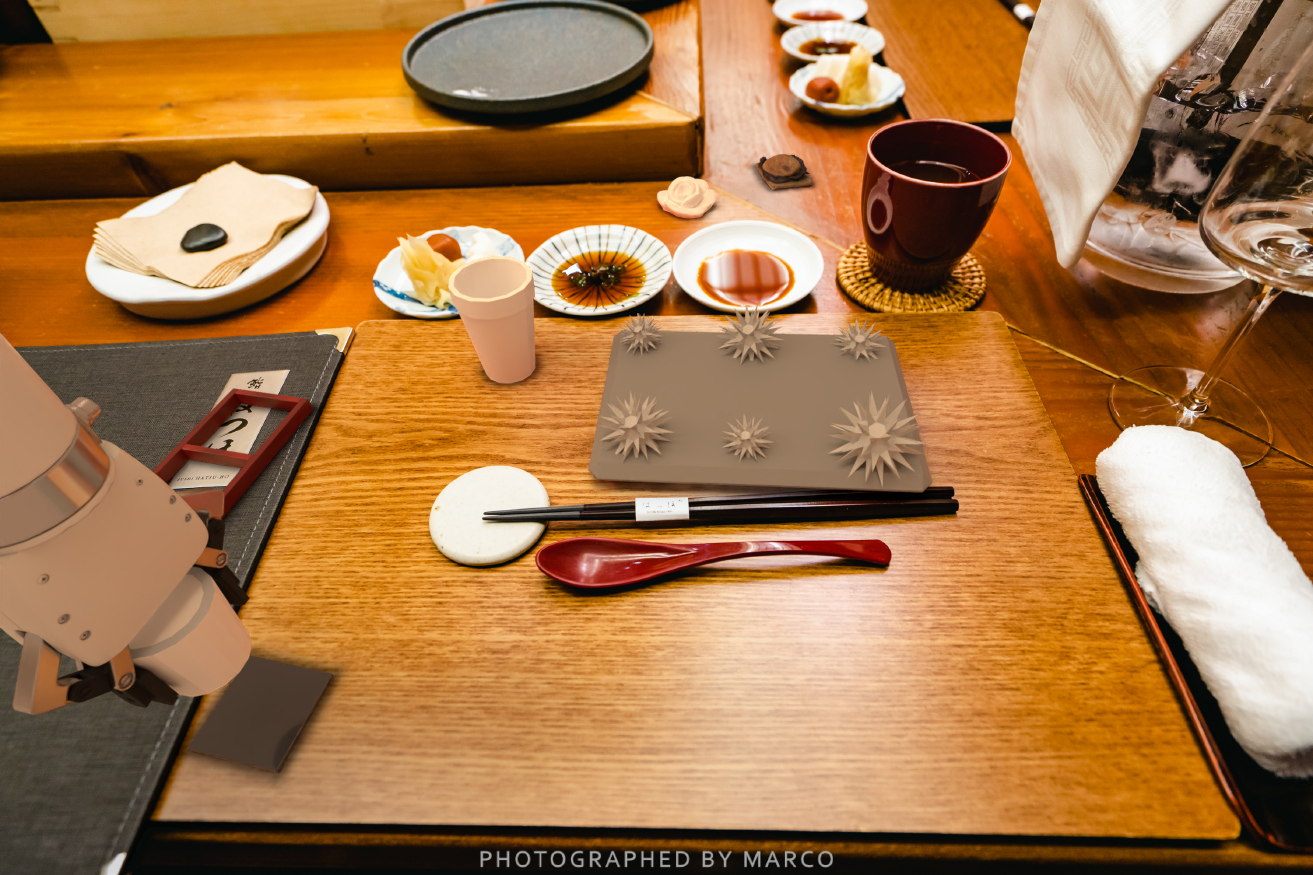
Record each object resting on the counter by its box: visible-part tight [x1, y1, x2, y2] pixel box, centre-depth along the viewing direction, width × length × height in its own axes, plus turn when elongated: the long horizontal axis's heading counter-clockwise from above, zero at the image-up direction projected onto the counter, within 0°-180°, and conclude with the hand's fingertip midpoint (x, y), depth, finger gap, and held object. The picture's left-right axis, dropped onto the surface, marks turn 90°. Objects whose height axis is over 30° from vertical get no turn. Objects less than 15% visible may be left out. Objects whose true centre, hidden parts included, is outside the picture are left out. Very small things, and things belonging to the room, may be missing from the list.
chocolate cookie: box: [755, 153, 813, 190], centre depth 120 cm, size 11×8×4 cm
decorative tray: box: [587, 304, 933, 493], centre depth 75 cm, size 35×26×10 cm
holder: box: [151, 387, 314, 520], centre depth 75 cm, size 10×19×2 cm, turn 168°
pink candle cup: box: [129, 567, 253, 698], centre depth 46 cm, size 7×7×7 cm
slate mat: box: [186, 655, 335, 774], centre depth 55 cm, size 8×8×1 cm
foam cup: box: [447, 255, 536, 384], centre depth 81 cm, size 10×9×13 cm
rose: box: [656, 176, 718, 219], centre depth 113 cm, size 10×4×10 cm
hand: (194, 644), depth 47 cm, fingers closed on pink candle cup, 6 cm apart
